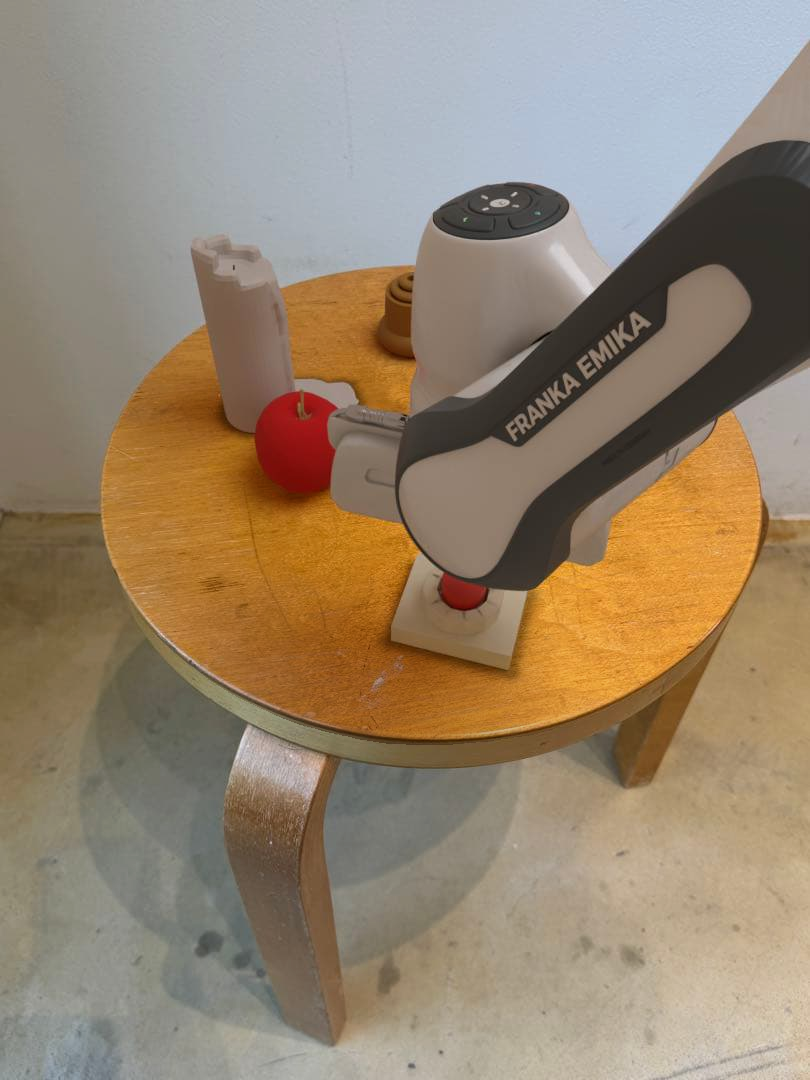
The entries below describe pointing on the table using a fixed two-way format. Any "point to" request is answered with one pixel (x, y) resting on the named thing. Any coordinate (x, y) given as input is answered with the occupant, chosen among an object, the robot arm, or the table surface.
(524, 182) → the robot arm
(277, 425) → the fruit
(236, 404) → the candle
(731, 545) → the table surface
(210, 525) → the table surface
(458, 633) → the switch box
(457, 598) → the power button
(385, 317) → the ornamental finial
